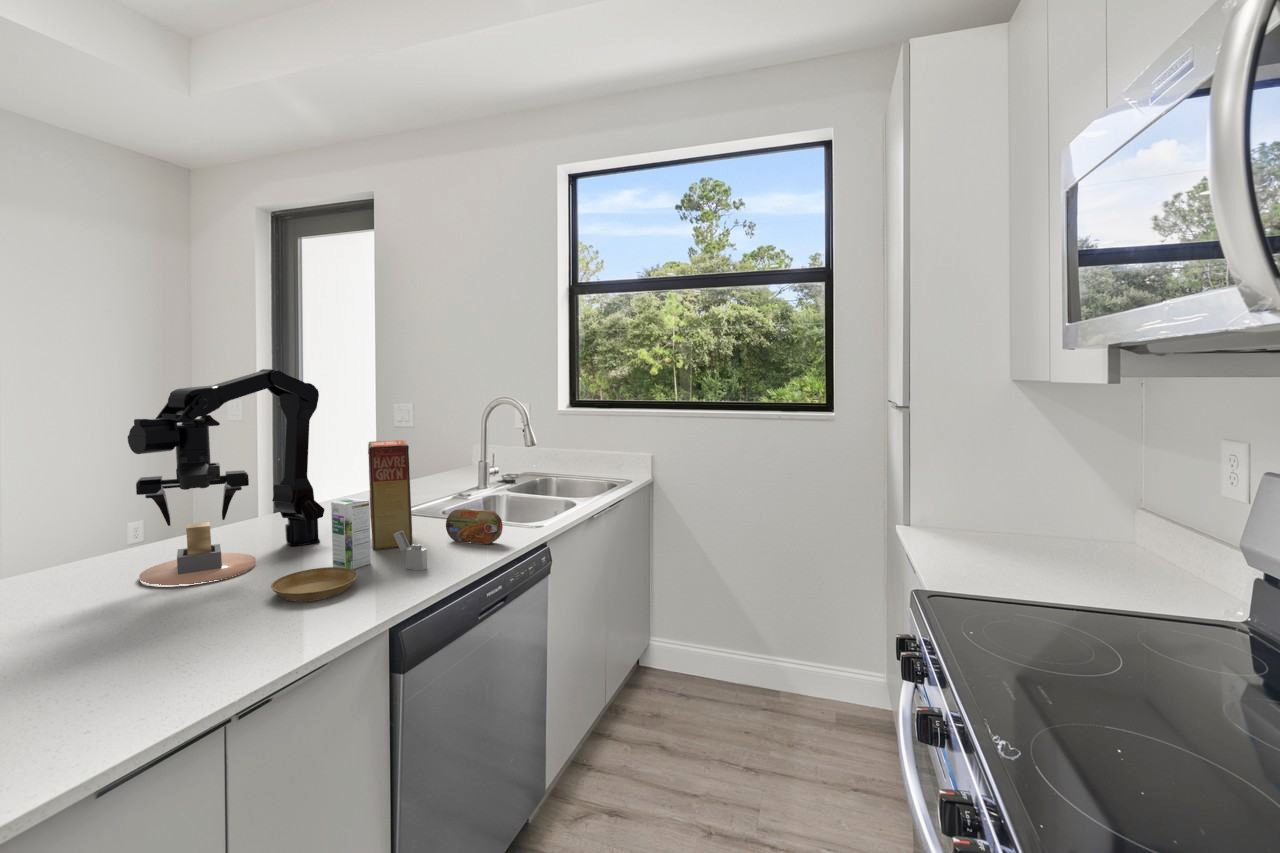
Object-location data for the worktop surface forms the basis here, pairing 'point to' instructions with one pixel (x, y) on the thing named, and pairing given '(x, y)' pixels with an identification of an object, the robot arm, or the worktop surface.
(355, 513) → the syrup box
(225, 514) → the robot arm
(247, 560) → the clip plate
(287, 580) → the plant saucer
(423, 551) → the lighter
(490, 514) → the tin
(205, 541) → the oak peg
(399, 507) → the food packaging
